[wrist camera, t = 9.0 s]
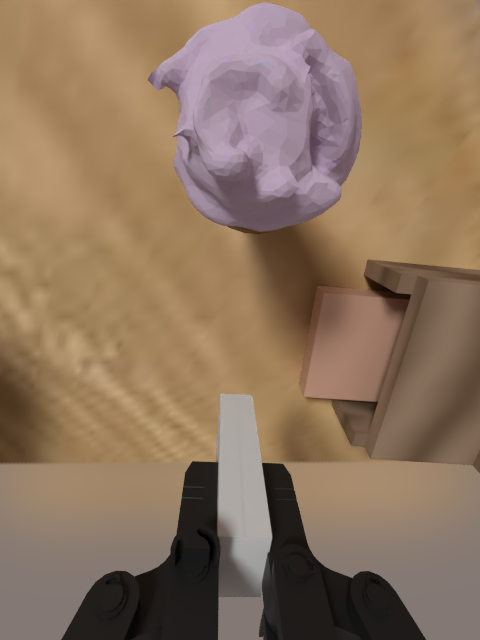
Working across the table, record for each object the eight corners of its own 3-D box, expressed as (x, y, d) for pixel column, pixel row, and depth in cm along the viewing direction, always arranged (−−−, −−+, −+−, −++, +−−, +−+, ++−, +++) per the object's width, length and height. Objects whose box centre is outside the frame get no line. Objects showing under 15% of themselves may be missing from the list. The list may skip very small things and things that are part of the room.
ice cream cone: (177, 167, 21) (60, 96, 7) (240, 88, 19) (256, -221, 5) (248, 237, 22) (271, 294, 8) (311, 168, 21) (466, 101, 7)
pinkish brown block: (297, 380, 28) (303, 396, 25) (315, 284, 24) (324, 292, 22) (425, 389, 28) (443, 406, 26) (459, 296, 25) (482, 305, 23)
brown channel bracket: (332, 405, 28) (367, 478, 21) (367, 259, 23) (431, 286, 16) (436, 412, 29) (508, 487, 21) (492, 271, 24) (611, 303, 16)
